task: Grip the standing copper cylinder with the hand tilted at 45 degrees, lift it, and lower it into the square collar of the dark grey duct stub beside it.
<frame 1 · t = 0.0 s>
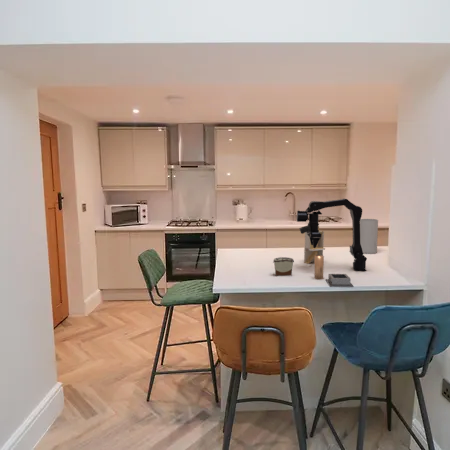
hand: (313, 246, 213), 15 cm above the worktop, tool pointing down, fingers open, 9 cm apart
cylinder vase: (367, 252, 261), on the worktop
duct stub: (339, 283, 185), on the worktop
food container: (282, 274, 205), on the worktop
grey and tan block: (313, 263, 232), on the worktop
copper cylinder: (318, 278, 196), on the worktop
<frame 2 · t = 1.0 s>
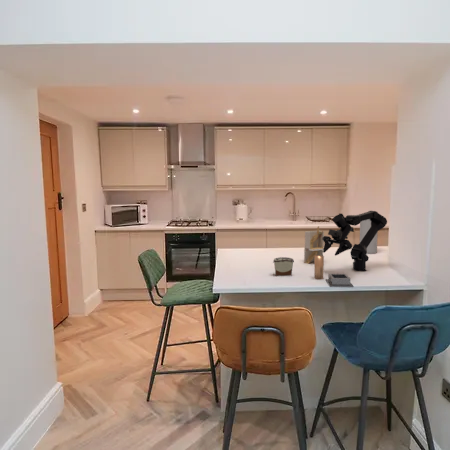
hand: (329, 253, 198), 13 cm above the worktop, tool tilted 45°, fingers open, 9 cm apart
nothing on the worktop moved.
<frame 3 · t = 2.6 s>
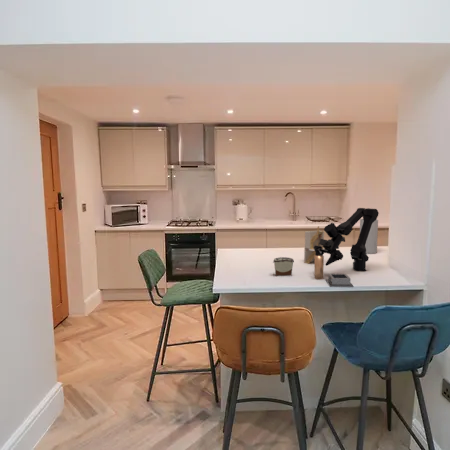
hand: (320, 263, 195), 8 cm above the worktop, tool tilted 45°, fingers open, 9 cm apart
nothing on the worktop moved.
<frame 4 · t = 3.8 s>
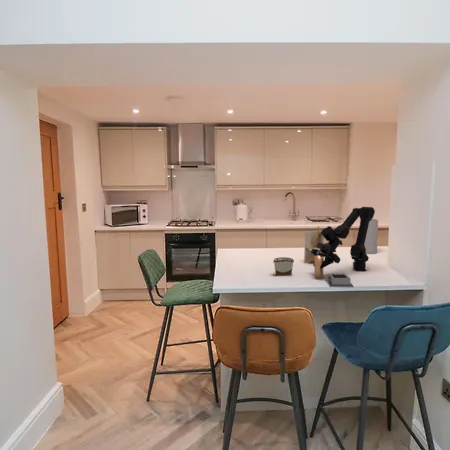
hand: (317, 267, 194), 7 cm above the worktop, tool tilted 45°, fingers closed on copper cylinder, 5 cm apart
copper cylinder: (318, 278, 196), on the worktop, touching gripper
everything else where it was.
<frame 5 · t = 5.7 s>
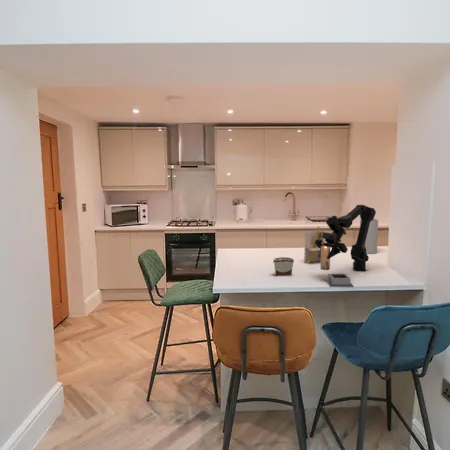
hand: (323, 257, 189), 13 cm above the worktop, tool tilted 45°, fingers closed on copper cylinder, 5 cm apart
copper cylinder: (325, 269, 191), point 6 cm above the worktop, touching gripper
everything else where it was.
when the fingers open (8 cm above the worktop, at t = 7.9 s): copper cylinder drops 1 cm, resting on duct stub.
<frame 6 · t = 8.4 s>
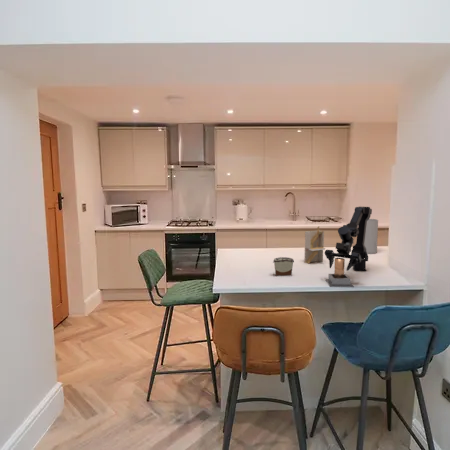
hand: (338, 269, 183), 8 cm above the worktop, tool tilted 45°, fingers open, 9 cm apart
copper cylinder: (339, 282, 185), point 1 cm above the worktop, touching duct stub
everything else where it was.
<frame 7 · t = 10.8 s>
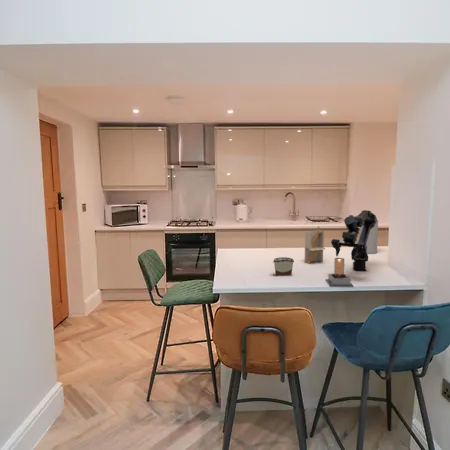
hand: (344, 257, 190), 13 cm above the worktop, tool tilted 45°, fingers open, 9 cm apart
nothing on the worktop moved.
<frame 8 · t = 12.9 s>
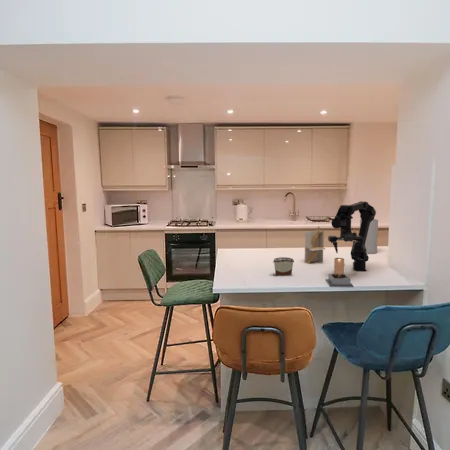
hand: (345, 253, 199), 13 cm above the worktop, tool pointing down, fingers open, 9 cm apart
nothing on the worktop moved.
at the end: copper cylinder 0.1 cm off-centre on the duct stub, point 0.6 cm above the duct stub's base; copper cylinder tilted 1°; the gripper is holding nothing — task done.
